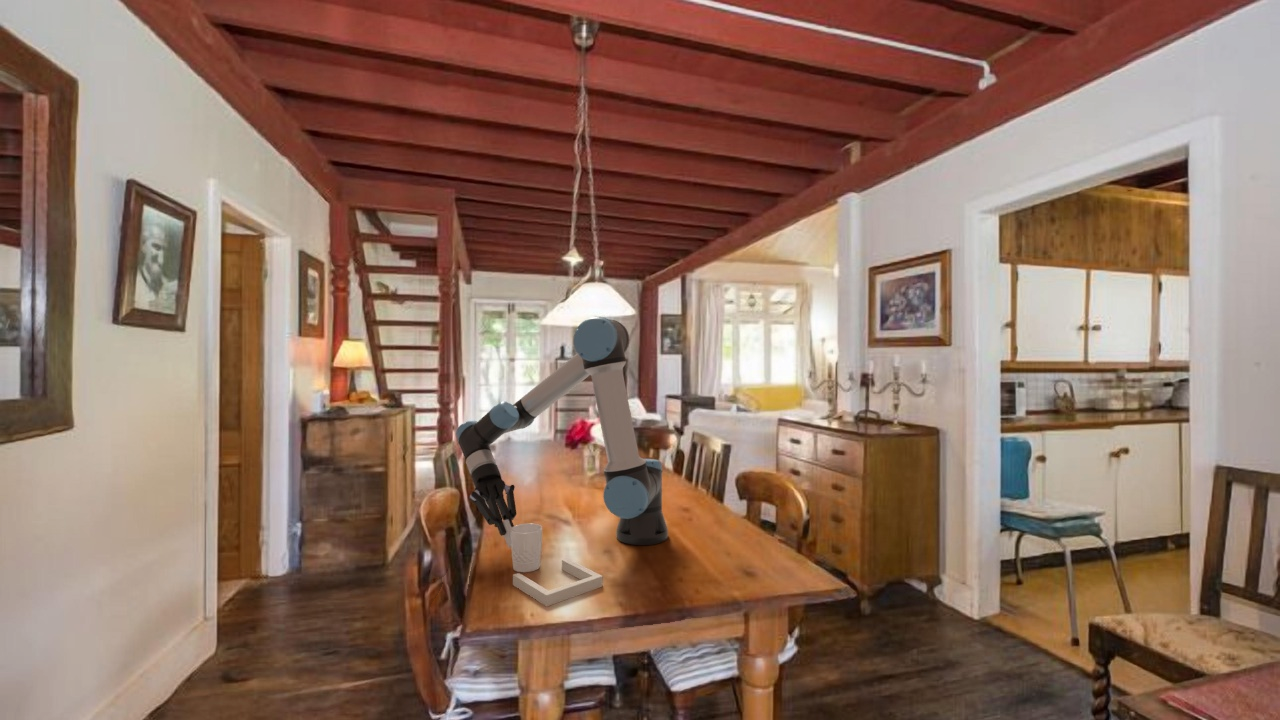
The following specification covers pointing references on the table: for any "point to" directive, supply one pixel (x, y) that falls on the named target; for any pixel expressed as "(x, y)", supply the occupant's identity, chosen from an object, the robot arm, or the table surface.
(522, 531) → the white cup
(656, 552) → the table surface
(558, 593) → the bay
